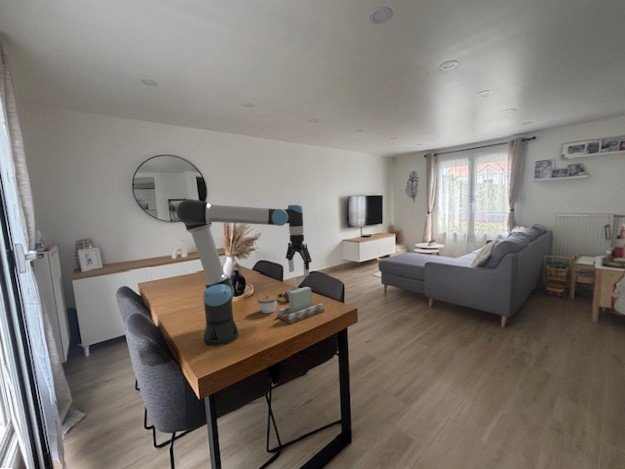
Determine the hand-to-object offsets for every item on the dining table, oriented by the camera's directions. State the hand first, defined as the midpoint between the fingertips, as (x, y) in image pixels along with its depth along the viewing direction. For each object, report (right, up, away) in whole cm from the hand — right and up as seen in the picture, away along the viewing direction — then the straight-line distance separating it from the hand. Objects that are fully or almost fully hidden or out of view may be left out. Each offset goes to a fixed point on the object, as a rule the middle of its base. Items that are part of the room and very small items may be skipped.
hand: (298, 273), depth 139 cm
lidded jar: (-18, -23, +8) cm, 30 cm away
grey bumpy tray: (+1, -22, +2) cm, 23 cm away
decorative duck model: (-6, -21, +27) cm, 34 cm away
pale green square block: (+1, -21, +2) cm, 21 cm away
